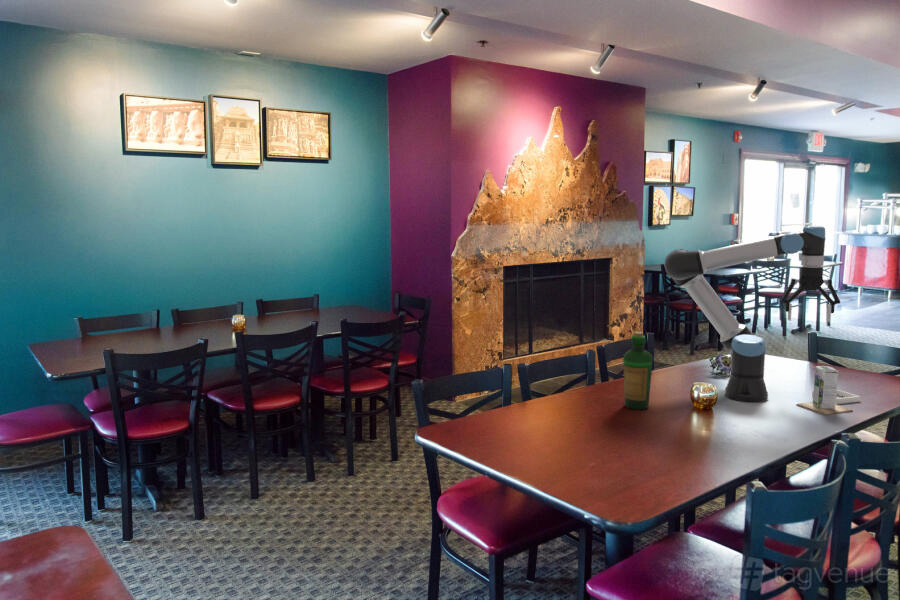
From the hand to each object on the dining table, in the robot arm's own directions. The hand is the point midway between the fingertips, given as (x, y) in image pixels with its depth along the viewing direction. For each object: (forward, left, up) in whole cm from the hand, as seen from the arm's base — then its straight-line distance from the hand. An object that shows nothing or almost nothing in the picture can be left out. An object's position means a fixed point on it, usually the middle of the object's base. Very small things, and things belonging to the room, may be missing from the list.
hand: (808, 320), depth 249 cm
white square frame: (+4, -11, -29) cm, 31 cm away
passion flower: (-11, +35, -29) cm, 47 cm away
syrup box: (-10, -19, -28) cm, 35 cm away
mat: (-10, -19, -29) cm, 36 cm away
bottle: (-73, +4, -29) cm, 79 cm away
